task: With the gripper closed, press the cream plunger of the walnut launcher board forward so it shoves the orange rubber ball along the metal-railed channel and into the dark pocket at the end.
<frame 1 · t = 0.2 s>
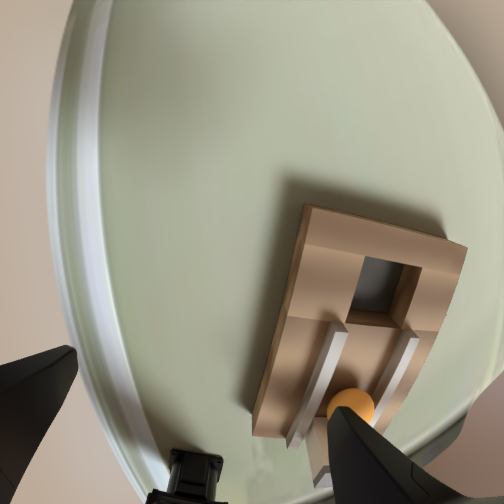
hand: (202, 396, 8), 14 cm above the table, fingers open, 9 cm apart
ball: (350, 411, 20), point 5 cm above the table, touching launcher board
plunger: (338, 451, 20), point 7 cm above the table, slide at 0.0 cm
launcher board: (349, 343, 24), on the table
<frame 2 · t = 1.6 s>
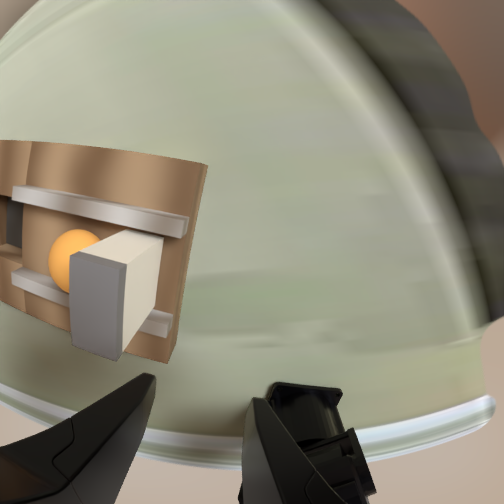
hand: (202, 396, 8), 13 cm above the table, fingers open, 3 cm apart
ball: (77, 262, 16), point 5 cm above the table, touching launcher board
plunger: (120, 286, 14), point 7 cm above the table, slide at 0.0 cm
launcher board: (73, 234, 20), on the table
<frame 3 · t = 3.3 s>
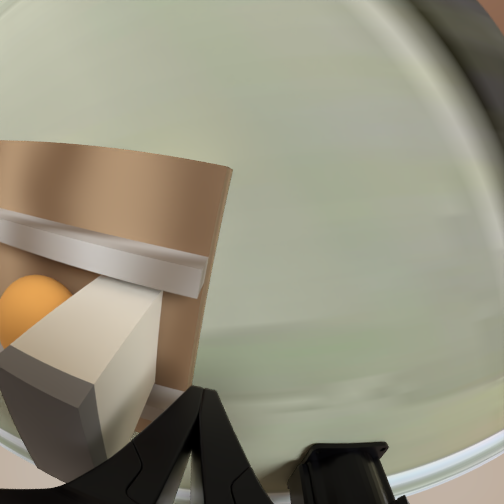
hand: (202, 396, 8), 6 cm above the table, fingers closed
ball: (39, 324, 9), point 5 cm above the table, touching launcher board
plunger: (96, 378, 8), point 7 cm above the table, slide at 0.2 cm, touching gripper
launcher board: (42, 267, 14), on the table
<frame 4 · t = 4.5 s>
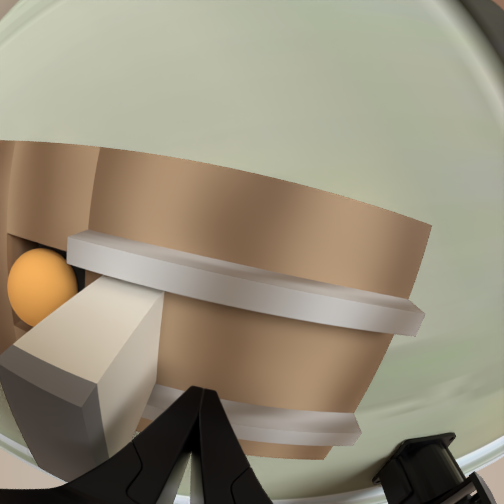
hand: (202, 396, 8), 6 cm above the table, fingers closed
ball: (42, 288, 12), point 2 cm above the table, tilted 43°, touching launcher board
plunger: (98, 377, 8), point 7 cm above the table, slide at 8.5 cm, touching gripper
launcher board: (172, 305, 14), on the table
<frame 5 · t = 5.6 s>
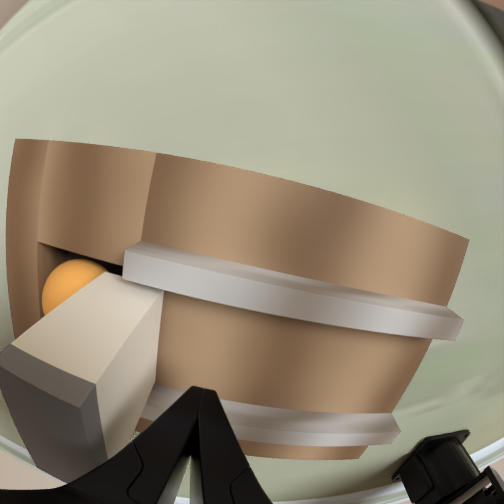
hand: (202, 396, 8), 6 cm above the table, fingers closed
ball: (81, 302, 12), point 2 cm above the table, tilted 49°, touching launcher board, plunger
plunger: (97, 377, 8), point 7 cm above the table, slide at 10.9 cm, touching ball, gripper
launcher board: (218, 315, 14), on the table
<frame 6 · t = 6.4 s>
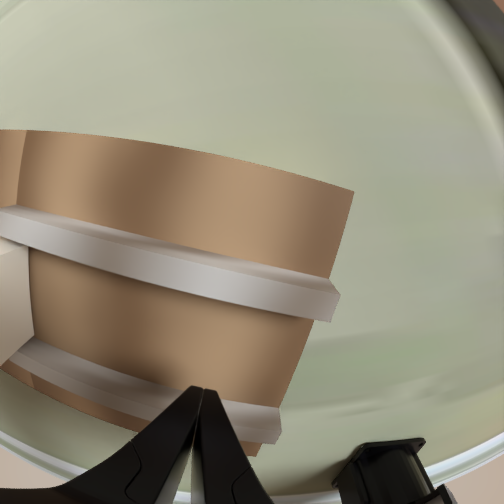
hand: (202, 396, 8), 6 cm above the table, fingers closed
launcher board: (97, 280, 13), on the table
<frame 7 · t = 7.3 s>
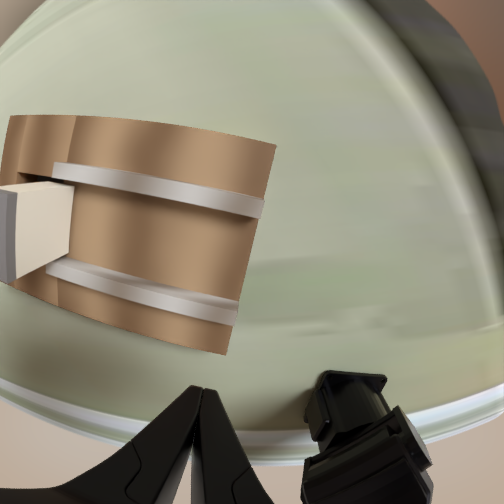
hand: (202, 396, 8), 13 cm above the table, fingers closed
plunger: (28, 225, 13), point 7 cm above the table, slide at 10.9 cm, touching ball
launcher board: (117, 219, 20), on the table
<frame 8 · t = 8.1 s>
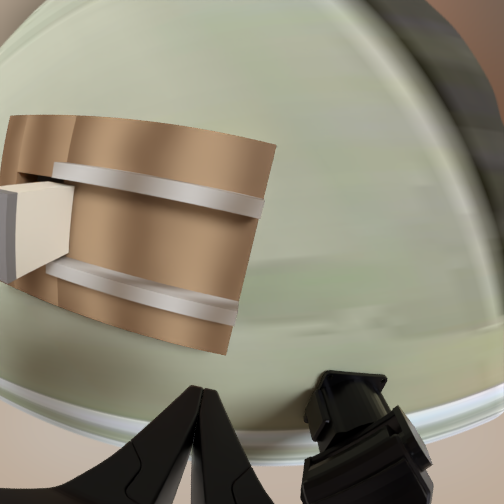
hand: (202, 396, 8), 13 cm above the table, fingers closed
plunger: (28, 224, 13), point 7 cm above the table, slide at 10.9 cm, touching ball
launcher board: (117, 219, 20), on the table
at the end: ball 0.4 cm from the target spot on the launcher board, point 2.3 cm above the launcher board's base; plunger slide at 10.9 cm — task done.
